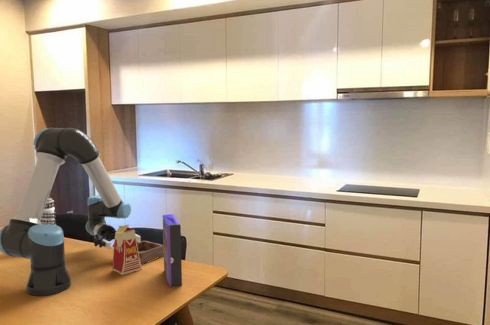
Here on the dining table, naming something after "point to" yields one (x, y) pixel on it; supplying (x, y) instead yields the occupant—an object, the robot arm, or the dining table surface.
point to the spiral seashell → (49, 213)
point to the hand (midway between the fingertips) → (125, 242)
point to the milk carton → (125, 251)
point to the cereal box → (172, 250)
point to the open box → (149, 251)
